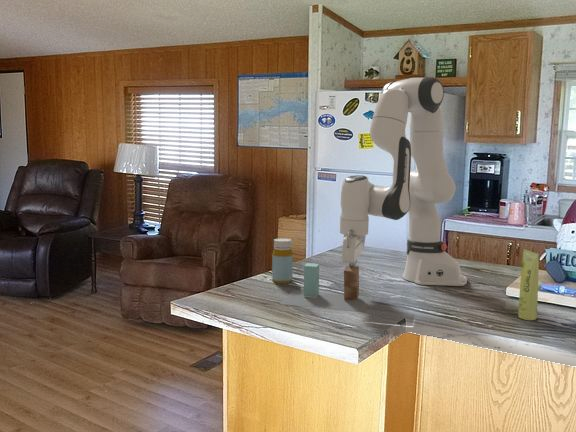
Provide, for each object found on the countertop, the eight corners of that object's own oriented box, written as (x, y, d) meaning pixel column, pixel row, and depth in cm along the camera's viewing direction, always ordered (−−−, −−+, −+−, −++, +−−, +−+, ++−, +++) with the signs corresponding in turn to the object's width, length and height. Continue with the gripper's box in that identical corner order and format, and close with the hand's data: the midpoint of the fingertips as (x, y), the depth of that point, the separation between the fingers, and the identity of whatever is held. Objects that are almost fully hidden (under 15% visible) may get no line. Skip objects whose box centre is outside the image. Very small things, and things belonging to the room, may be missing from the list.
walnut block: (358, 295, 182) (358, 266, 179) (356, 301, 179) (356, 271, 175) (346, 294, 183) (346, 265, 180) (344, 300, 180) (343, 270, 176)
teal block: (318, 294, 186) (319, 264, 184) (315, 297, 182) (316, 266, 181) (306, 293, 187) (307, 263, 185) (303, 296, 183) (304, 265, 182)
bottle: (290, 285, 198) (290, 242, 196) (270, 283, 200) (270, 241, 198) (294, 280, 205) (294, 238, 203) (274, 278, 207) (275, 237, 204)
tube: (513, 317, 165) (517, 250, 163) (519, 313, 169) (523, 248, 166) (533, 322, 162) (538, 253, 159) (539, 317, 166) (544, 251, 163)
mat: (372, 298, 183) (372, 297, 183) (365, 313, 168) (365, 312, 168) (293, 291, 190) (293, 290, 190) (279, 305, 175) (279, 304, 175)
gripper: (358, 233, 169) (357, 279, 171) (368, 223, 189) (367, 265, 190) (337, 232, 171) (336, 278, 173) (349, 222, 190) (348, 263, 192)
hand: (352, 271), depth 182 cm, fingers closed
